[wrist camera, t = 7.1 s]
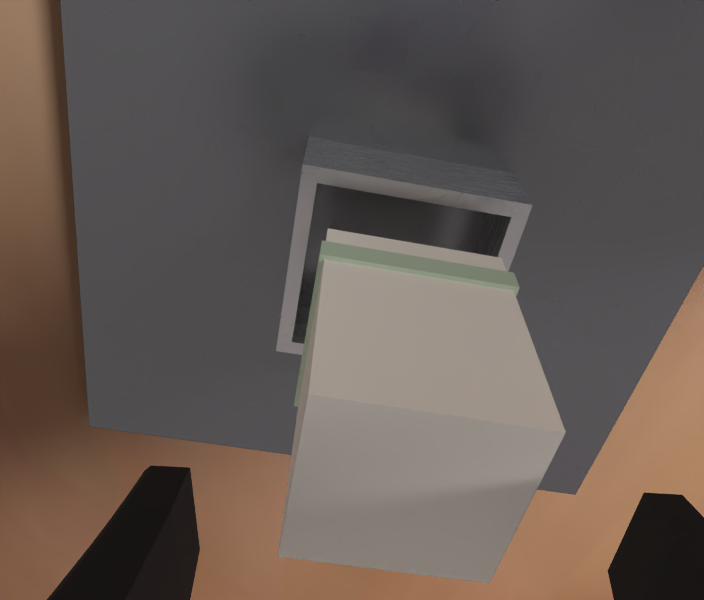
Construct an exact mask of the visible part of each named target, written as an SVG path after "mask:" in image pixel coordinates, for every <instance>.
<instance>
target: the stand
mask: <svg viewBox="0 0 704 600" xmlns="http://www.w3.org/2000/svg"><path fill="white" fill-rule="evenodd" d="M60 4H61V19H62V34H63V48H64V63H65V78H66V92H67V107H68V122H69V137H70V151H71V166H72V181H73V195H74V210H75V225H76V239H77V254H78V269H79V283H80V298H81V313H82V327H83V342H84V357H85V372H86V386H87V401H88V416H89V427H96V428H104V429H111V430H118V431H125V432H132V433H139V434H146V435H153V436H161V437H168V438H175V439H182V440H189V441H196V442H203V443H210V444H218V445H225V446H232V447H239V448H246V449H253V450H260V451H268V452H275V453H282V454H289V455H292V448H293V441H294V434H295V426H296V419H297V411H298V407H296V406H294V401H295V394H296V388H297V382H298V376H299V370H300V364H301V358H302V353H303V347H304V341H305V335H306V329H307V324H308V318H309V312H310V306H311V300H312V295H313V289H314V283H315V277H316V271H317V266H318V260H319V254H320V248H321V242H322V240H323V241H326V236H327V230H328V228H329V229H335V230H340V231H346V232H352V233H358V234H364V235H370V236H376V237H382V238H388V239H393V240H399V241H405V242H411V243H417V244H423V245H429V246H435V247H440V248H446V249H452V250H458V251H464V252H470V253H476V254H482V255H488V256H493V257H499V258H502V261H503V263H504V266H505V269H506V271H507V272H513V273H514V274H515V276H516V279H517V282H518V284H519V287H520V288H519V291H518V293H517V296H516V298H517V301H518V304H519V307H520V309H521V312H522V315H523V317H524V320H525V323H526V326H527V328H528V331H529V334H530V336H531V339H532V342H533V345H534V347H535V350H536V353H537V355H538V358H539V361H540V363H541V366H542V369H543V372H544V374H545V377H546V380H547V382H548V385H549V388H550V391H551V393H552V396H553V399H554V401H555V404H556V407H557V409H558V412H559V415H560V418H561V420H562V423H563V426H564V428H565V431H566V433H565V435H564V437H563V439H562V441H561V443H560V445H559V447H558V449H557V451H556V453H555V455H554V457H553V459H552V461H551V463H550V465H549V467H548V469H547V470H546V472H545V474H544V476H543V478H542V480H541V482H540V484H539V486H538V488H537V489H538V490H546V491H553V492H560V493H567V494H574V495H575V494H576V493H577V491H578V489H579V487H580V485H581V484H582V482H583V480H584V478H585V476H586V475H587V473H588V471H589V469H590V468H591V466H592V464H593V462H594V460H595V459H596V457H597V455H598V453H599V451H600V450H601V448H602V446H603V444H604V443H605V441H606V439H607V437H608V435H609V434H610V432H611V430H612V428H613V426H614V425H615V423H616V421H617V419H618V418H619V416H620V414H621V412H622V410H623V409H624V407H625V405H626V403H627V401H628V400H629V398H630V396H631V394H632V393H633V391H634V389H635V387H636V385H637V384H638V382H639V380H640V378H641V376H642V375H643V373H644V371H645V369H646V367H647V366H648V364H649V362H650V360H651V359H652V357H653V355H654V353H655V351H656V350H657V348H658V346H659V344H660V342H661V341H662V339H663V337H664V335H665V334H666V332H667V330H668V328H669V326H670V325H671V323H672V321H673V319H674V317H675V316H676V314H677V312H678V310H679V309H680V307H681V305H682V303H683V301H684V300H685V298H686V296H687V294H688V292H689V291H690V289H691V287H692V285H693V284H694V282H695V280H696V278H697V276H698V275H699V273H700V271H701V269H702V267H703V266H704V0H60Z"/></svg>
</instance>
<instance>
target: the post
mask: <svg viewBox="0 0 704 600" xmlns="http://www.w3.org/2000/svg"><path fill="white" fill-rule="evenodd" d="M519 288H520V287H519V284H518V282H517V279H516V276H515V274H514V273H513V272H507V271H506V269H505V266H504V263H503V261H502V258H499V257H493V256H488V255H482V254H476V253H470V252H464V251H458V250H452V249H446V248H440V247H435V246H429V245H423V244H417V243H411V242H405V241H399V240H393V239H388V238H382V237H376V236H370V235H364V234H358V233H352V232H346V231H340V230H335V229H329V228H328V230H327V236H326V241H323V240H322V242H321V248H320V254H319V260H318V266H317V271H316V277H315V283H314V289H313V295H312V300H311V306H310V312H309V318H308V324H307V329H306V335H305V341H304V347H303V353H302V358H301V364H300V370H299V376H298V382H297V388H296V394H295V401H294V406H296V407H298V411H297V419H296V426H295V434H294V441H293V448H292V456H291V463H290V471H289V478H288V486H287V493H286V501H285V508H284V516H283V523H282V531H281V538H280V546H279V553H278V557H285V558H293V559H301V560H309V561H317V562H325V563H333V564H341V565H348V566H356V567H364V568H372V569H380V570H388V571H396V572H404V573H411V574H419V575H427V576H435V577H443V578H451V579H459V580H467V581H474V582H482V583H490V581H491V579H492V577H493V575H494V573H495V571H496V569H497V567H498V565H499V563H500V561H501V559H502V557H503V555H504V553H505V551H506V550H507V548H508V546H509V544H510V542H511V540H512V538H513V536H514V534H515V532H516V530H517V528H518V526H519V524H520V522H521V520H522V518H523V516H524V514H525V512H526V510H527V508H528V506H529V504H530V502H531V500H532V498H533V496H534V494H535V492H536V490H537V488H538V486H539V484H540V482H541V480H542V478H543V476H544V474H545V472H546V470H547V469H548V467H549V465H550V463H551V461H552V459H553V457H554V455H555V453H556V451H557V449H558V447H559V445H560V443H561V441H562V439H563V437H564V435H565V433H566V431H565V428H564V426H563V423H562V420H561V418H560V415H559V412H558V409H557V407H556V404H555V401H554V399H553V396H552V393H551V391H550V388H549V385H548V382H547V380H546V377H545V374H544V372H543V369H542V366H541V363H540V361H539V358H538V355H537V353H536V350H535V347H534V345H533V342H532V339H531V336H530V334H529V331H528V328H527V326H526V323H525V320H524V317H523V315H522V312H521V309H520V307H519V304H518V301H517V298H516V296H517V293H518V291H519Z"/></svg>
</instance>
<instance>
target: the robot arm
mask: <svg viewBox="0 0 704 600" xmlns="http://www.w3.org/2000/svg"><path fill="white" fill-rule="evenodd" d="M199 550H200V548H199V539H198V531H197V522H196V514H195V506H194V497H193V489H192V481H191V472H190V468H184V467H166V466H150V467H149V468H148V469H146V470H145V471H144V472H143V474H142V475H141V477H140V478H139V480H138V481H137V483H136V484H135V486H134V487H133V488H132V490H131V491H130V493H129V494H128V496H127V497H126V498H125V500H124V501H123V503H122V504H121V505H120V507H119V508H118V509H117V511H116V512H115V514H114V515H113V516H112V518H111V519H110V520H109V522H108V523H107V524H106V526H105V527H104V528H103V530H102V531H101V532H100V534H99V535H98V536H97V538H96V539H95V540H94V542H93V543H92V544H91V545H90V547H89V548H88V549H87V551H86V552H85V553H84V554H83V556H82V557H81V558H80V559H79V560H78V562H77V563H76V564H75V565H74V567H73V568H72V569H71V570H70V572H69V573H68V574H67V575H66V577H65V578H64V579H63V580H62V582H61V583H60V584H59V585H58V587H57V588H56V589H55V590H54V592H53V593H52V594H51V595H50V596H49V598H48V599H47V600H190V597H191V592H192V587H193V582H194V577H195V571H196V566H197V561H198V555H199ZM608 574H609V579H610V583H611V588H612V593H613V597H614V600H704V517H703V516H702V515H701V514H700V513H699V512H698V511H697V510H696V509H695V508H694V507H693V506H692V505H691V504H690V503H689V502H688V501H687V500H686V498H685V497H684V496H683V495H675V494H657V493H644V494H643V496H642V498H641V500H640V502H639V504H638V507H637V509H636V511H635V513H634V515H633V517H632V520H631V522H630V524H629V526H628V528H627V530H626V533H625V535H624V537H623V539H622V541H621V543H620V545H619V548H618V550H617V552H616V554H615V556H614V558H613V561H612V563H611V565H610V567H609V569H608Z"/></svg>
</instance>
